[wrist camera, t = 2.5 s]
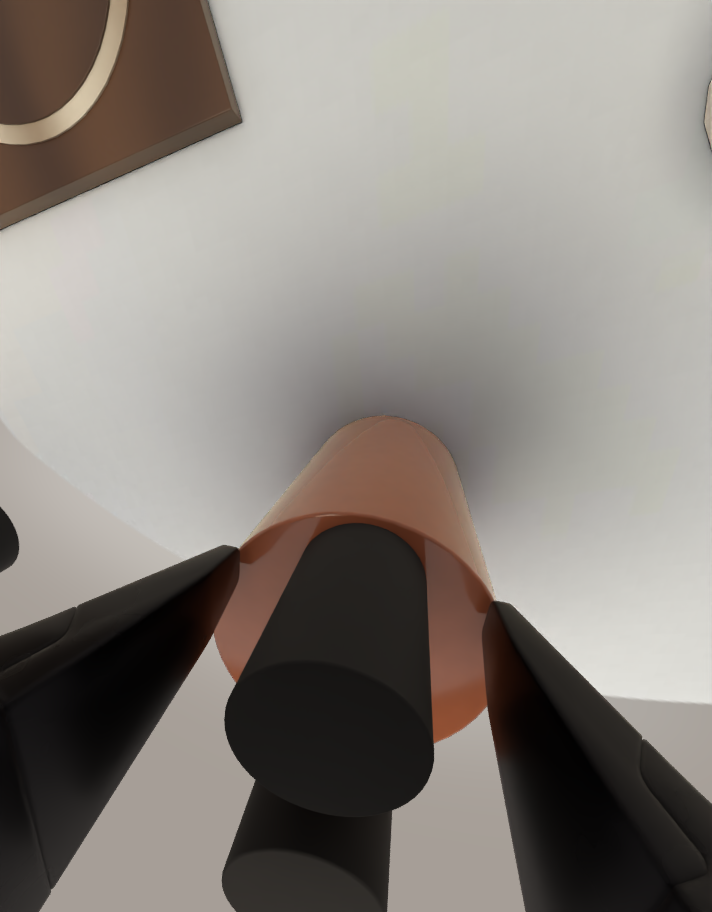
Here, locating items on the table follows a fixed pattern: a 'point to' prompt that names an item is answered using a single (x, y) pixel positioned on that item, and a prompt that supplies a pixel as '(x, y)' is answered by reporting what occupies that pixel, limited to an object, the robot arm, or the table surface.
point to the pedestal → (398, 510)
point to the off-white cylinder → (709, 114)
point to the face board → (102, 93)
